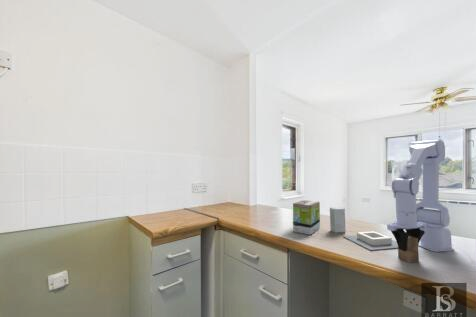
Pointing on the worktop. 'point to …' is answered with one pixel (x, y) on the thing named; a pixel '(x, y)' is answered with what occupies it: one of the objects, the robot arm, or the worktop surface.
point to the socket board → (373, 241)
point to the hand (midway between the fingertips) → (407, 249)
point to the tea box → (306, 216)
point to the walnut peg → (410, 250)
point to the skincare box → (337, 219)
